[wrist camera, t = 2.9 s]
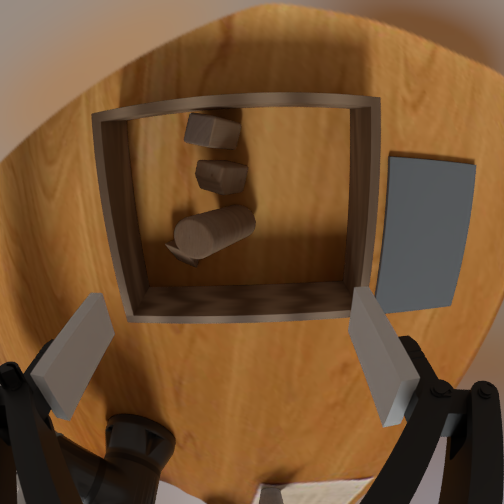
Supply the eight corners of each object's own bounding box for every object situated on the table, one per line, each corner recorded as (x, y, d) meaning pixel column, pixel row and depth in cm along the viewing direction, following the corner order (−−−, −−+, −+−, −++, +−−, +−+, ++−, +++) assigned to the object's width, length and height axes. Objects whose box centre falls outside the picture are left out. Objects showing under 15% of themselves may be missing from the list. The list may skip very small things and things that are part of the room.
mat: (371, 312, 43) (373, 314, 43) (388, 156, 35) (390, 156, 34) (448, 303, 43) (450, 305, 42) (473, 164, 34) (476, 165, 34)
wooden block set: (212, 118, 36) (158, 106, 26) (279, 132, 33) (241, 119, 24) (185, 255, 42) (133, 279, 33) (243, 279, 39) (199, 312, 30)
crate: (144, 293, 42) (127, 322, 36) (118, 113, 33) (91, 113, 26) (349, 287, 42) (364, 316, 35) (357, 101, 32) (380, 97, 26)
